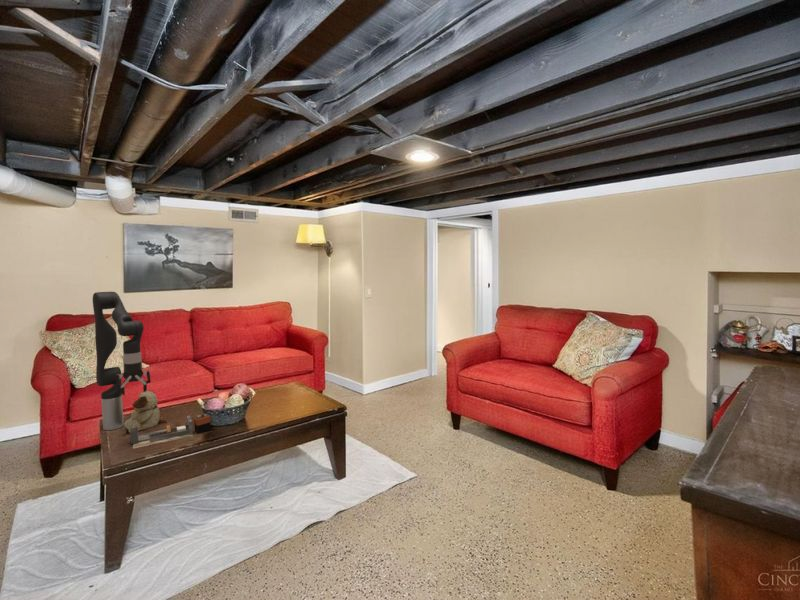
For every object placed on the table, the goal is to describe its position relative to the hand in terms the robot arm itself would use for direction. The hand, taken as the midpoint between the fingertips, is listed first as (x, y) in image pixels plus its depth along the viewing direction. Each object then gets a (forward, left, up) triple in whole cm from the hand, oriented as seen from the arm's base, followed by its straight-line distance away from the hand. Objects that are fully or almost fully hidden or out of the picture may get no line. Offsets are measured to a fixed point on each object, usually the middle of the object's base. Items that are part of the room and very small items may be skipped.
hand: (134, 393), depth 200 cm
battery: (+5, +29, -26) cm, 39 cm away
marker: (+2, +20, -24) cm, 31 cm away
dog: (-21, +5, -26) cm, 34 cm away
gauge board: (+2, +11, -26) cm, 28 cm away
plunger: (+2, +6, -24) cm, 25 cm away
